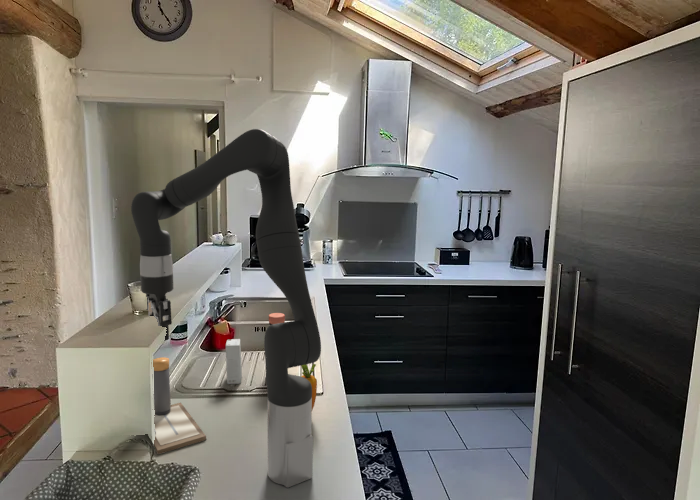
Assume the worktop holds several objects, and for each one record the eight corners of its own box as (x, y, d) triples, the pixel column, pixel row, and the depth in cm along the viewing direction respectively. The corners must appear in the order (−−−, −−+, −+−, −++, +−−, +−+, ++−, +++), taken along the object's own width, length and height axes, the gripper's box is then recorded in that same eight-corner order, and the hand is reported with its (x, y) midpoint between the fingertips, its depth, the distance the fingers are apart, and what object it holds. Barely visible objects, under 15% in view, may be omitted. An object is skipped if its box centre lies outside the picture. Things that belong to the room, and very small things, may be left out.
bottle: (276, 370, 155) (276, 310, 152) (292, 375, 152) (292, 314, 148) (261, 377, 150) (260, 315, 147) (277, 383, 146) (277, 319, 143)
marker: (173, 413, 124) (171, 361, 122) (156, 417, 122) (153, 364, 120) (168, 406, 128) (166, 356, 126) (152, 411, 125) (149, 359, 123)
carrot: (316, 412, 129) (317, 359, 126) (316, 422, 124) (316, 367, 121) (298, 412, 129) (298, 359, 126) (296, 422, 124) (297, 367, 121)
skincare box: (241, 383, 145) (240, 345, 143) (226, 384, 144) (225, 346, 142) (242, 375, 151) (241, 338, 149) (227, 376, 150) (226, 338, 148)
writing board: (206, 439, 115) (205, 432, 114) (157, 454, 108) (156, 447, 108) (180, 405, 131) (180, 399, 130) (136, 417, 124) (136, 410, 124)
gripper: (180, 276, 115) (183, 340, 118) (164, 266, 127) (166, 325, 129) (147, 279, 111) (150, 346, 114) (134, 269, 122) (136, 330, 125)
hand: (159, 335), depth 122 cm, fingers open, 8 cm apart
